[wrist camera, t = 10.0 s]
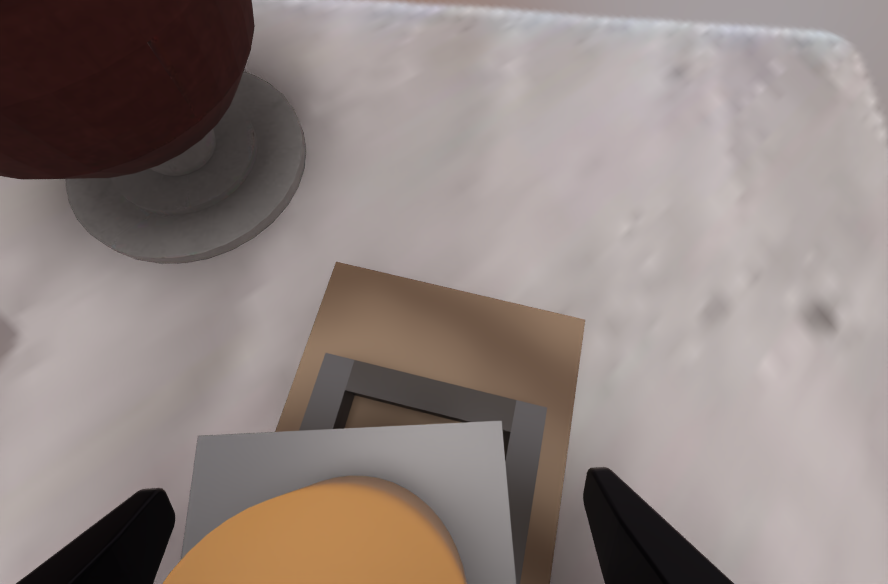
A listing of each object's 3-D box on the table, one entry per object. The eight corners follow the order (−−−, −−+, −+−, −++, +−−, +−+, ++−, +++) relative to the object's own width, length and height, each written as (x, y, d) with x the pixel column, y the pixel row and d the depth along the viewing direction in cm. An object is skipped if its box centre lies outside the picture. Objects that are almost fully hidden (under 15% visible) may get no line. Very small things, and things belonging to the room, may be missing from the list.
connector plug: (467, 557, 16) (602, 1074, 3) (349, 564, 16) (-60, 1141, 3) (460, 433, 18) (528, 412, 4) (352, 438, 18) (92, 434, 4)
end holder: (509, 819, 14) (526, 910, 12) (183, 717, 15) (125, 780, 12) (578, 325, 20) (601, 306, 18) (340, 269, 21) (325, 243, 18)
